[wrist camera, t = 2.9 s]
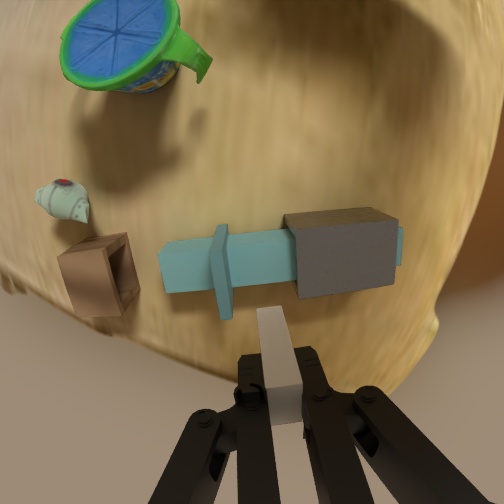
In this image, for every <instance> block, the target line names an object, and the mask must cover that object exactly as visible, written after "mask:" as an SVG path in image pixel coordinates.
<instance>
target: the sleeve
mask: <svg viewBox="0 0 504 504" xmlns="http://www.w3.org/2000/svg"><path fill="white" fill-rule="evenodd" d="M284 220H285V229H288V228H289V229H290V231H291V232H292V234H293V235H294V242H295V259H296V280H293V281H292V283H293V286H294V289H295V291H296V294H297V296H298V299H304V298H311V297H318V296H325V295H332V294H339V293H345V292H351V291H358V290H364V289H370V288H376V287H381V286H387V285H392V284H394V278H395V268H396V257H397V242H398V219H396V218H393V217H391V216H389V215H387V214H384V213H382V212H380V211H378V210H375V209H373V208H371V207H366V208H353V209H340V210H327V211H316V212H305V213H294V214H284Z"/></svg>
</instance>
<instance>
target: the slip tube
mask: <svg viewBox="0 0 504 504" xmlns="http://www.w3.org/2000/svg"><path fill="white" fill-rule="evenodd" d="M402 241H403V228H402V227H400V226H398V242H397V257H396V266H400V265H401V255H402ZM158 260H159V265H160V269H161V273H162V278H163V282H164V286H165V290H166V293H177V292H188V291H200V290H210V289H215V293H216V298H217V304H218V309H219V315H220V320H228V319H232V318H233V296H234V287H240V286H249V285H258V284H267V283H276V282H284V281H293V280H296V259H295V242H294V235H293V234H292V232H291V231H290V229H289V228H288V229H278V230H269V231H260V232H251V233H241V234H233V235H229V233H228V225H227V224H223V225H218V226H217V229H216V232H215V235H214V237H207V238H198V239H190V240H182V241H174V242H168V243H167V244H166V245H165V246H164V247H163V249H162V250H161V251H160V252H159V253H158Z"/></svg>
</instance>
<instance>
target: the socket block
mask: <svg viewBox="0 0 504 504" xmlns="http://www.w3.org/2000/svg"><path fill="white" fill-rule="evenodd" d="M57 260H58V263H59V267H60V270H61V273H62V277H63V280H64V283H65V286H66V289H67V292H68V294H69V297H70V300H71V303H72V305H73V308H74V311H75V313H76V316H77V317H110V316H122V315H123V313H124V312H125V310H126V309H127V307H128V306H129V304H130V303H131V301H132V300H133V299H134V297H135V296H136V294H137V293H138V291H139V290H140V285H139V281H138V278H137V274H136V270H135V266H134V262H133V258H132V253H131V249H130V245H129V240H128V236H127V232H125V233H119V234H113V235H106V236H100V237H94V238H88V239H84V240H83V241H81V242H80V243H78V244H76V245H75V246H73V247H72V248H70V249H68V250H67V251H65V252H64V253H62V254H61V255H59V256H57Z"/></svg>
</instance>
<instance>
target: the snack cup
mask: <svg viewBox="0 0 504 504" xmlns="http://www.w3.org/2000/svg"><path fill="white" fill-rule="evenodd" d="M180 18H181V17H180V9H179V6H178V4H177V2H176V0H91V1H90V2H89V3H88V4H87V5H85V6H84V7H83V8H82V9H81V11H80V12H79V13H78V14H77V15H76V16H74V17H73V18H72V19H71V20H70V22H69V23H68V25H67V26H66V28H65V29H64V31H63V33H62V35H61V37H60V38H61V39H62V43H61V47H60V55H59V56H60V65H61V69H62V71H63V75H64V76H65V78H66V79H67V80H69V81H71V82H72V83H74V84H75V85H77V86H79V87H81V88H84V89H87V90H92V91H107V90H108V91H112V90H116V91H123V92H130V93H146V92H152V91H154V90H155V89H158V88H159V87H161V86H163V85H164V84H165V83H167V82H168V81H169V80H170V79H171V78H172V77H173V76H174V75H175V74H176V72H177V70H178V68H179V65H180V64H182V65H184V66H186V67H188V68H190V69H192V70H193V71H195V72H196V73H197V81H196V82H197V84H199V83H200V82H201V81H202V79H203V77H204V76H205V74H206V72H207V70H208V69H209V66H210V65H211V63H212V60H213V59H212V57H210V56H209V55H208V54H207V53H206V52H205V51H204V50H203V49H202V47H201V46H200V45H199V44H198V43H196V42H195V40H193V39H192V38H191V37H190V36H189V35H188V34H186V33H185V32H184V31H183V30H182V29H181V28H180Z"/></svg>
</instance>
